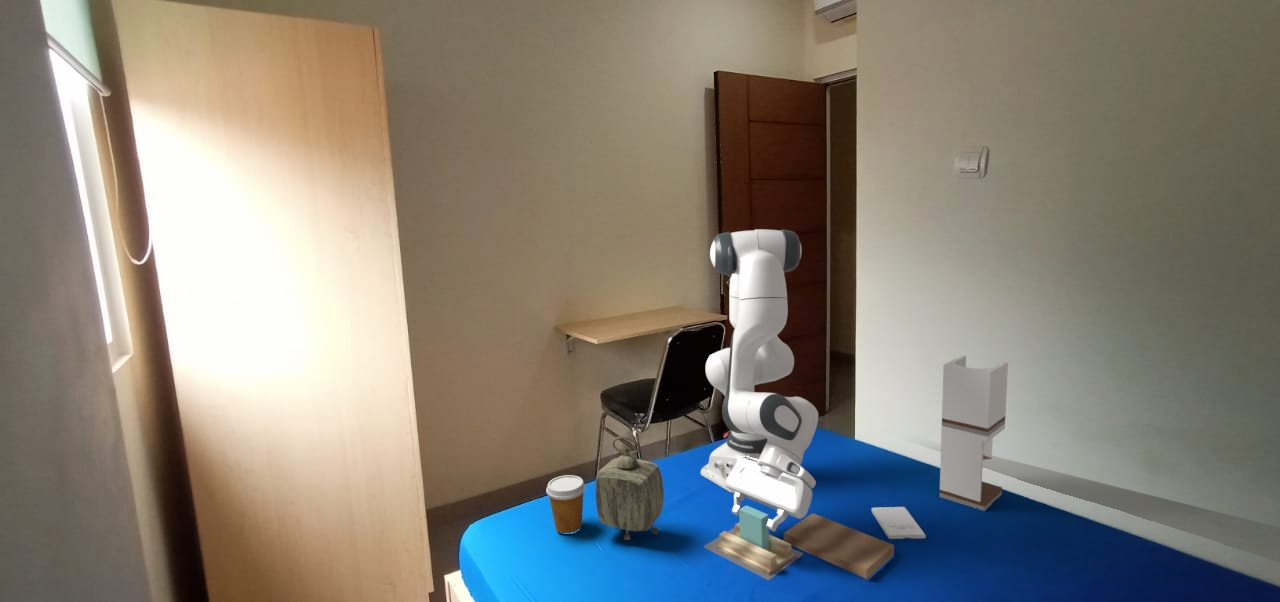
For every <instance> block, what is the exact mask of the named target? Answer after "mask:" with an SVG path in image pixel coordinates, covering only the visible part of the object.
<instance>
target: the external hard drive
mask: <svg viewBox="0 0 1280 602" xmlns="http://www.w3.org/2000/svg"><path fill="white" fill-rule="evenodd" d="M871 513H872V515H873V516H874V517H875V520H876V521H877V523H878V524H879V526H880V527H881V529H882V530H883V532H884V533H885V535H886V537H887V538H888V539H889V540H897V539H898V540H902V539H904V540H905V539H911V540H912V539H926V537H927V536H926V534H925V533H924V531H923V530H922V528H921V527H920V525H919V524H918V523H917V521H916V520H915V519H914V517H913V515H911V514H910V511H908V509H907V508H906V507H905V506H894V507H893V506H888V507H887V506H885V507H871Z"/></svg>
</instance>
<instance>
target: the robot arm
mask: <svg viewBox="0 0 1280 602" xmlns="http://www.w3.org/2000/svg"><path fill="white" fill-rule="evenodd" d="M800 241H801V240H800V238H799V236H798V234H797V233H796V232H795V231H792V230H788V229H780V230H777V229H763V228H761V229H760V228H759V229H754V230H752V229H751V230H741V231H734V232H730V231H725V232H722V233H718V234H717V235H715V236H714V238H713V240H712V243H711V247H710V250H709V258H710V262H711V264H712V266H713V269H714V270H715V271H716V272H717V273H718V274H721V275H724V276H727V277H728V278H729V290H728V291H729V293H728V295H729V298H728V299H729V300H728V301H729V305H728V306H729V310H728V311H729V314H728V315H729V323H730V325H732V328H734V329H733V331H732V334H731V339H730V345H729V346H730V347H725V348H722V349H720V350H718V351H715V352H714V353H712V354H709V356H708V358H707V360H706V362H705V366H704V367H705V369H704V370H705V376H706V378H707V380H708V382H709V383H710V385H711V386H713V387H714V388H715V389H717V390H719V392H720V393H722V394H723V396H724V398H723V402H722V405H721V406H722V407H721V408H722V409H721V416H722V419H723V421H724V424H725V426H726V427H727V428H728V429H729V431H727V432H725V433H723V438H724V439H725V438H727V439H726V442H724V443H722V444H721V445H720V446H718V447H717V448H715V449H713V451H712V452H711V453H710V455H709V459H708V463H706V464H705V465H704V466H703V467H702V468H701V469H700V475H701V476H702V477H704V478H706V479H708V480H709V481H710V482H712V483H714V484H716V485H717V486H719V487H721V488H723V489H724V490H726V491H727V492H729V493H734V494H733V506H732V509H731V513H732V514H734V515H736V516H738V517H739V509H741V508H742V507H741V501H744V499H745V498H746V499H749V500H752V501H754V502H756V503H758V504H761V505H764V506H767V507H769V508H771V509H774V510H775V511H776V514H777V515H776V516H775V517H773V519H770V518H768V523H767V525H766V527H767V528H768V529H769V530H770V531H771V532H776V530H777V528H778V526H779V525H780V524H781V523H783V522H784V521H785V520H786V519H787V518H788V515H789V516H791V517H793V518H795V519H798V520H802V519H804V518H806V516H807V514H808V511H809V509H810V506H811V503H812V498H813V491H812V489H814V488H815V486H816V484H817V482H816V480H815V478H814V477H813V476H812V475H811V474H810V473H809V471H808V470H806V469H805V468H804V467H803V466H802V465H801V464H802V463H803V459H804V454H805V451H806V450H807V449H808V448H809V447H810V444H811V443H812V440H813V437H814V435H815V433H816V430H817V427H818V426H817V425H818V423H819V422H818V421H819V411H818V410H817V408H816V407H815V405H814V404H813V403H812V402H810V401H809V400H807V399H805V398H803V397H801V396H783V395H782V394H779V393H775V392H763V391H762V392H759V391H758V392H757V391H756V390H755V386H757V385H761V384H767V383H772V382H775V381H778V380H781V379H783V378H785V377H786V376H789V375H790V374H791V373H792V372H793V369H794V366H795V356H794V354H793V351H792V350H791V348H790V346H789V345H788V344H786V343H785V342H783V341H782V340H781V339H780V338H779V336H778V335H779V334H780V333H781V332H782V331H783V329H784V328H785V326H786V324H787V320H788V316H789V315H788V313H789V309H788V307H789V306H788V294H787V293H788V291H787V282H786V277H785V274H786V273H788V272H792V271H794V270H795V269H796V268H797V267H798V266H799V264H800V262H801V261H800V260H801V257H802V253H803V252H802V251H803V250H802V244H801V242H800ZM755 391H756V392H755Z"/></svg>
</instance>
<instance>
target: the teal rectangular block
mask: <svg viewBox="0 0 1280 602" xmlns="http://www.w3.org/2000/svg"><path fill="white" fill-rule="evenodd" d="M738 517H739V522H740V538H741V539H743V540H746V541H748V542H750V543H752V544H754V545H756V546H758V547H760V548H762V549H765V550H767V551H769V535H770V532H769V529H768V528H767V527H766V525H767V523H768V520H769V513H768V514H767V513H765V512H763V511H760V510H758V509H756V508H753V507H751V506H749V505H745V506H743V507H741V509H739V516H738Z"/></svg>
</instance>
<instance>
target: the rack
mask: <svg viewBox="0 0 1280 602" xmlns="http://www.w3.org/2000/svg"><path fill="white" fill-rule="evenodd" d="M734 528H735V535H733V534H731V533H729V532H728V531H726V530H723V531H722V532H721V533H719V535H718V537H719V540H720V545H718V546H717V547H718V550H720V551H722V552H724V553H726V554H728V555H730V556H732V557H734V558H736V559H738V560H740V561H742V562H744V563H746V564H748V565H750V566H752V567H754V568H756V569H758V570H760V571H762V572H764V573H766V574H768V575H770V574H771V573H772V572H774V571H775V570H776V569H778V568H779V567H780V566H782V565H783V564H785V563H786V562H787V561H789V560H790V559H791V558H793V557H794V553H792V550H791V548H792V545H791V544H790V543H787V542H785V541H784V539H780V538H778V537H776V536H774V535H771V534H769V551H767V550H765V549H762V548H760V547H758V546H756V545H754V544H752V543H750V542H748V541H746V540H743V539H741V538H740V521H739V522H737V523H735V524H734Z"/></svg>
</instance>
